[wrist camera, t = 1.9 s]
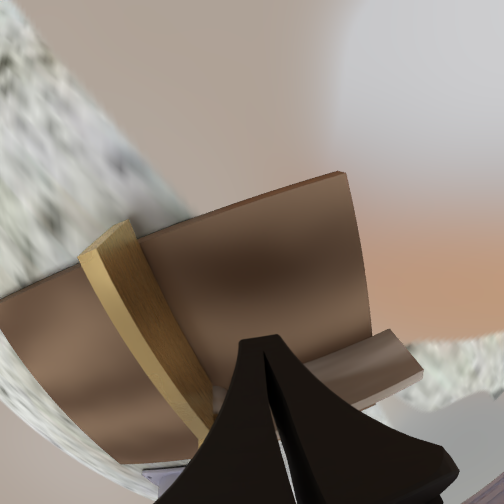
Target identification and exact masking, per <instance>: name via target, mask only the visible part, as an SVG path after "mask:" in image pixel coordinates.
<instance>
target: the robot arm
mask: <svg viewBox="0 0 504 504" xmlns="http://www.w3.org/2000/svg"><path fill="white" fill-rule="evenodd" d="M269 405H270V407H269ZM270 409H271V411H270ZM271 412H272V415H273V418H274V421H275V424H276V427H277V430H278V433H279V436H280V439H281V442H282V445H283V448H284V451H285V454H286V458H287V461H288V465H289V469H290V474H291V478H292V483H293V487H294V492H295V496H296V501H297V504H443V500H442V498H441V496H440V494H441V493H442V492H443V491H444V490H445V489H446V488H447V487H448V486H450V484H451V483H453V482H454V480H455V479H456V478H457V477H458V474H459V472H460V471H459V469H458V467H457V466H456V464H455V463H454V461H453V459H452V458H451V456H450V455H449V454H448V453H447V452H446V451H445V449H444V448H443V447H442V446H440V445H437V444H433V443H430V442H427V441H423V440H420V439H417V438H414V437H411V436H409V435H406V434H404V433H401V432H399V431H397V430H394V429H392V428H390V427H388V426H386V425H384V424H382V423H381V422H379V421H377V420H375V419H373V418H371V417H369V416H367V415H366V414H364V413H362V412H361V411H359V410H358V409H356V408H355V407H353V406H352V405H350V404H349V403H347V402H346V401H344V400H343V399H342V398H340V397H339V396H338V395H336V394H335V393H334V392H333V391H331V390H330V389H329V388H328V387H327V386H326V385H324V384H323V383H322V382H321V381H320V380H319V379H318V378H317V377H316V376H315V375H313V374H312V373H311V372H310V370H309V369H308V368H307V367H306V366H305V365H304V364H303V363H302V362H301V361H300V360H299V359H298V358H297V357H296V356H295V354H294V353H293V352H292V351H291V350H290V348H289V347H288V346H287V345H286V343H285V342H284V340H283V339H282V338H281V336H280V335H278V334H274V335H267V336H261V337H254V338H248V339H241V340H240V341H239V342H238V355H237V360H236V365H235V369H234V372H233V376H232V379H231V383H230V386H229V389H228V391H227V394H226V396H225V399H224V401H223V404H222V406H221V409H220V411H219V413H218V415H217V417H216V419H215V421H214V423H213V425H212V427H211V429H210V431H209V433H208V434H207V436H206V438H205V439H204V441H203V443H202V444H201V446H200V448H199V449H198V451H197V452H196V454H195V455H194V457H193V458H192V459H191V461H190V462H189V463H188V465H187V466H186V467H181V468H171V469H159V470H144V471H142V475H143V476H144V477H146V478H147V479H148V480H150V481H151V482H152V483H154V484H155V485H157V486H158V487H159V490H158V499H157V500H156V501H155V503H153V504H296V502H295V499H294V495H293V492H292V489H291V485H290V482H289V479H288V475H287V472H286V468H285V465H284V461H283V458H282V454H281V450H280V447H279V443H278V439H277V435H276V431H275V427H274V423H273V419H272V415H271ZM461 504H504V472H503V473H502V474H501V475H500V476H498V477H497V478H496V479H494V480H493V481H492V482H491V483H489V484H488V485H487V486H485V487H484V488H483V489H481V490H480V491H479V492H477V493H476V494H474V495H473V496H472V497H470V498H469V499H467V500H466V501H464V502H463V503H461Z"/></svg>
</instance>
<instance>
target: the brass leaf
mask: <svg viewBox="0 0 504 504" xmlns="http://www.w3.org/2000/svg"><path fill="white" fill-rule="evenodd" d="M77 258H78V260H79V262H80V264H81V266H82V268H83V270H84V272H85V274H86V276H87V278H88V280H89V282H90V283H91V285H92V287H93V289H94V291H95V293H96V295H97V296H98V298H99V300H100V302H101V304H102V305H103V307H104V309H105V311H106V312H107V314H108V316H109V318H110V319H111V321H112V323H113V324H114V326H115V327H116V329H117V331H118V332H119V334H120V336H121V337H122V339H123V340H124V342H125V343H126V345H127V346H128V348H129V350H130V351H131V353H132V354H133V356H134V357H135V359H136V360H137V361H138V363H139V364H140V366H141V367H142V369H143V370H144V372H145V373H146V374H147V376H148V377H149V379H150V380H151V381H152V383H153V384H154V385H155V387H156V388H157V389H158V391H159V392H160V393H161V395H162V396H163V397H164V399H165V400H166V401H167V402H168V404H169V405H170V406H171V407H172V409H173V410H174V411H175V412H176V414H177V415H178V416H179V417H180V418H181V420H182V421H183V422H184V423H185V424H186V426H187V427H188V428H189V429H190V430H191V431H192V433H193V434H194V435H195V436H196V437H197V438H198V449H199V448H200V446H201V444H202V443H203V441H204V439H205V438H206V436H207V434H208V433H209V431H210V429H211V427H212V425H213V423H214V421H215V419H216V417H217V415H218V414H213V385H212V382H211V381H210V379H209V377H208V376H207V374H206V372H205V371H204V369H203V367H202V366H201V364H200V362H199V360H198V359H197V357H196V355H195V353H194V352H193V350H192V348H191V346H190V345H189V343H188V341H187V339H186V337H185V336H184V334H183V332H182V330H181V328H180V326H179V325H178V323H177V321H176V319H175V317H174V315H173V313H172V311H171V309H170V307H169V305H168V303H167V301H166V299H165V298H164V296H163V294H162V292H161V289H160V287H159V285H158V283H157V281H156V279H155V277H154V275H153V273H152V271H151V269H150V267H149V264H148V262H147V260H146V258H145V256H144V254H143V251H142V249H141V247H140V245H139V242H138V240H137V238H136V235H135V233H134V231H133V228H132V226H131V224H130V221H129V219H128V220H125V221H123V222H121V223H118V224H116V225H114V226H112V227H111V228H110V229H109V230H107V231H106V232H105V233H104V234H103V235H102V236H100V237H99V238H98V239H97V240H96V241H95V242H93V243H92V244H91V245H90V246H89V247H88V248H87V249H85V250H84V251H83V252H82V253H81V254H80V255H79V256H78V257H77Z"/></svg>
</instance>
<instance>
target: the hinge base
mask: <svg viewBox="0 0 504 504" xmlns="http://www.w3.org/2000/svg"><path fill="white" fill-rule="evenodd" d="M137 240H138V242H139V245H140V247H141V249H142V251H143V254H144V256H145V258H146V260H147V262H148V264H149V267H150V269H151V271H152V273H153V275H154V277H155V279H156V281H157V283H158V285H159V287H160V289H161V292H162V294H163V296H164V298H165V299H166V301H167V303H168V305H169V307H170V309H171V311H172V313H173V315H174V317H175V319H176V321H177V323H178V325H179V326H180V328H181V330H182V332H183V334H184V336H185V337H186V339H187V341H188V343H189V345H190V346H191V348H192V350H193V352H194V353H195V355H196V357H197V359H198V360H199V362H200V364H201V366H202V367H203V369H204V371H205V372H206V374H207V376H208V377H209V379H210V381H211V382H212V385H213V414H218V413H219V411H220V409H221V406H222V404H223V401H224V399H225V396H226V394H227V391H228V389H229V386H230V383H231V379H232V376H233V372H234V369H235V365H236V360H237V355H238V342H239V341H240V340H241V339H248V338H254V337H261V336H267V335H274V334H278V335H280V336H281V338H282V339H283V340H284V342H285V343H286V345H287V346H288V347H289V348H290V350H291V351H292V352H293V353H294V354H295V356H296V357H297V358H298V359H299V360H300V361H301V362H302V363H303V364H304V365H305V366H306V367H307V368H308V369H309V370H310V372H311V373H312V374H313V375H315V376H316V377H317V378H318V379H319V380H320V381H321V382H322V383H323V384H324V385H326V386H327V387H328V388H329V389H330V390H331V391H333V392H334V393H335V394H336V395H338V396H339V397H340V398H342V399H343V400H344V401H346V402H347V403H349V404H350V405H352V406H353V407H355V408H356V409H358V410H359V411H362V410H365V409H367V408H369V407H371V406H374V405H376V402H379V401H381V400H383V399H385V398H387V397H389V396H391V395H393V394H395V393H397V392H399V391H401V390H403V389H405V388H407V387H409V386H411V385H412V384H414V383H416V382H418V381H420V380H421V379H423V371H424V369H423V368H422V367H421V366H420V364H419V363H418V362H417V361H416V359H415V358H414V357H413V356H412V355H411V353H410V352H409V351H408V350H407V349H406V347H405V346H404V345H403V344H402V343H401V341H400V340H399V339H398V338H397V337H396V336H395V334H394V333H393V332H392V331H391V330H390V329H387V330H385V331H383V332H381V333H379V334H376V335H374V336H372V328H371V318H370V308H369V299H368V291H367V283H366V276H365V269H364V262H363V256H362V250H361V244H360V238H359V233H358V227H357V222H356V217H355V212H354V207H353V202H352V197H351V193H350V188H349V184H348V180H347V175H346V173H344V172H340V171H336V172H332V173H329V174H325V175H322V176H319V177H315V178H312V179H309V180H305V181H302V182H299V183H296V184H292V185H289V186H286V187H283V188H280V189H277V190H273V191H270V192H267V193H264V194H261V195H258V196H255V197H252V198H249V199H246V200H243V201H240V202H237V203H234V204H231V205H229V206H226V207H223V208H220V209H217V210H214V211H212V212H209V213H206V214H203V215H200V216H197V217H195V218H192V219H189V220H186V221H184V222H181V223H178V224H176V225H173V226H170V227H168V228H165V229H162V230H160V231H157V232H155V233H152V234H149V235H147V236H144V237H142V238H139V239H137ZM0 329H1V331H2V332H3V334H4V335H5V337H6V339H7V340H8V342H9V343H10V345H11V346H12V348H13V349H14V350H15V352H16V353H17V355H18V356H19V358H20V359H21V360H22V362H23V363H24V364H25V366H26V367H27V368H28V370H29V371H30V372H31V374H32V375H33V376H34V378H35V379H36V380H37V381H38V383H39V384H40V385H41V386H42V387H43V389H44V390H45V391H46V392H47V393H48V395H49V396H50V397H51V398H52V399H53V400H54V401H55V403H56V404H57V405H58V406H59V407H60V408H61V409H62V410H63V411H64V412H65V413H66V415H67V416H68V417H69V418H70V419H71V420H72V421H73V422H74V423H75V424H76V425H77V426H78V427H79V428H80V429H81V430H82V431H83V432H84V433H85V434H87V435H88V436H89V437H90V438H91V439H92V440H93V441H94V442H95V443H96V444H97V445H98V446H100V447H101V448H102V449H103V450H104V451H105V452H106V453H108V454H109V455H110V456H111V457H112V458H114V459H115V460H116V461H117V462H119V463H120V464H141V463H156V462H168V461H177V460H185V459H192V458H193V457H194V455H195V454H196V452H197V451H198V438H197V437H196V436H195V435H194V434H193V433H192V431H191V430H190V429H189V428H188V427H187V426H186V424H185V423H184V422H183V421H182V420H181V418H180V417H179V416H178V415H177V414H176V412H175V411H174V410H173V409H172V407H171V406H170V405H169V404H168V402H167V401H166V400H165V399H164V397H163V396H162V395H161V393H160V392H159V391H158V389H157V388H156V387H155V385H154V384H153V383H152V381H151V380H150V379H149V377H148V376H147V374H146V373H145V372H144V370H143V369H142V367H141V366H140V364H139V363H138V361H137V360H136V359H135V357H134V356H133V354H132V353H131V351H130V350H129V348H128V346H127V345H126V343H125V342H124V340H123V339H122V337H121V336H120V334H119V332H118V331H117V329H116V327H115V326H114V324H113V323H112V321H111V319H110V318H109V316H108V314H107V312H106V311H105V309H104V307H103V305H102V304H101V302H100V300H99V298H98V296H97V295H96V293H95V291H94V289H93V287H92V285H91V283H90V282H89V280H88V278H87V276H86V274H85V272H84V270H83V268H82V266H81V264H80V263H79V264H76V265H74V266H72V267H69V268H67V269H65V270H63V271H60V272H58V273H56V274H54V275H52V276H49V277H47V278H45V279H43V280H41V281H38V282H36V283H34V284H32V285H30V286H28V287H26V288H24V289H21V290H19V291H17V292H15V293H13V294H11V295H9V296H7V297H5V298H3V299H1V300H0ZM269 407H270V405H269ZM270 411H271V409H270ZM271 415H272V412H271ZM272 419H273V423H274V427H275V431H276V435H277V439H278V440H281V439H280V436H279V433H278V430H277V427H276V424H275V421H274V418H273V415H272Z"/></svg>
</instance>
